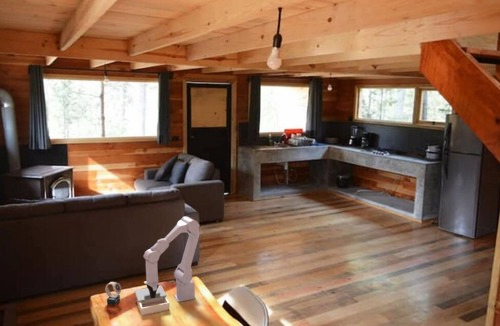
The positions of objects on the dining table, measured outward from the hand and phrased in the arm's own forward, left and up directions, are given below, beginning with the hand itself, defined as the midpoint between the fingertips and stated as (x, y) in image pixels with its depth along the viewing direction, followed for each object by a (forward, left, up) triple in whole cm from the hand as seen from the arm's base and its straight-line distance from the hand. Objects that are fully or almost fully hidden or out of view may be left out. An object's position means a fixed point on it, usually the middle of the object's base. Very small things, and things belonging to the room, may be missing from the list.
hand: (152, 297), depth 212 cm
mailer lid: (0, -7, -1) cm, 7 cm away
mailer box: (0, 0, -5) cm, 5 cm away
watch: (+18, -14, -6) cm, 23 cm away
